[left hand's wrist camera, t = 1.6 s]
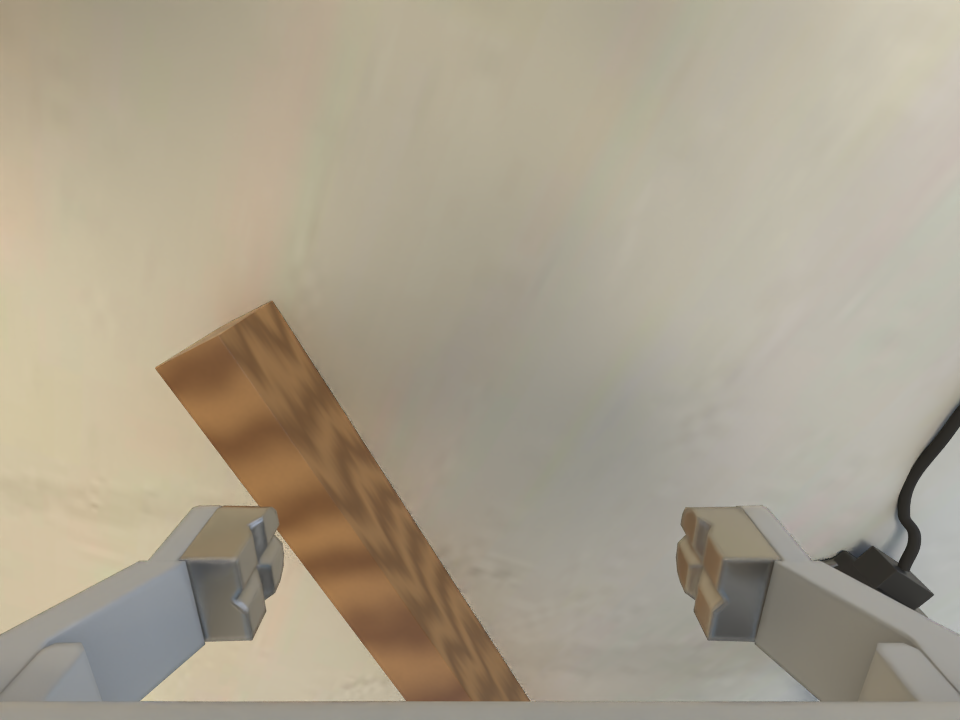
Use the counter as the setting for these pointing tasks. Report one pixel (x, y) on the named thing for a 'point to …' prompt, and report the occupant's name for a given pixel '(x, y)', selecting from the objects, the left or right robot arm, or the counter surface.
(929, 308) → the counter surface
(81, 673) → the left robot arm
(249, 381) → the post
